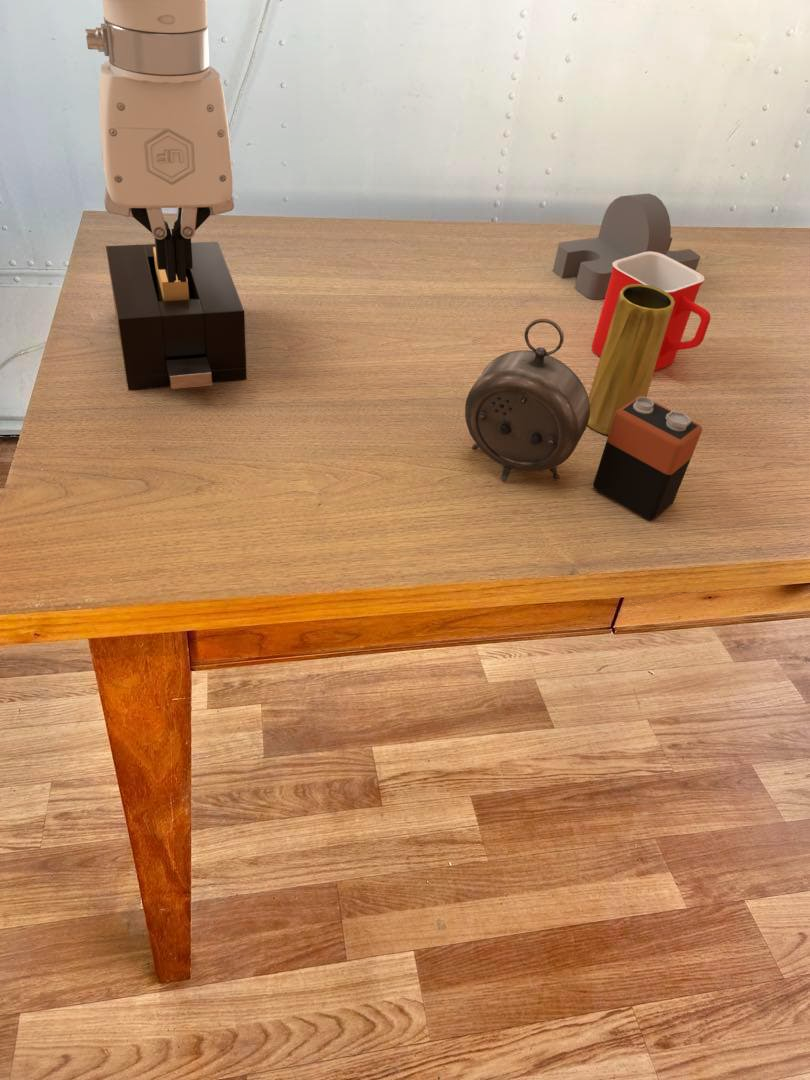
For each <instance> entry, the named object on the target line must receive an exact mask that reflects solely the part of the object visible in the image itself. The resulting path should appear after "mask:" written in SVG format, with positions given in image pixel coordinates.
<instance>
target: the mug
mask: <svg viewBox="0 0 810 1080" xmlns="http://www.w3.org/2000/svg"><path fill="white" fill-rule="evenodd" d="M705 280H706V278H705V276H704V275H703V274H702V273H700V272H698V271H697V270H696V271H695V270H693V269H691V268H689V267H687V266H685V265H683V264H681V263H679V262H677V261H675V260H673V259H671V258H670V257H668V256H666V255H663V254H661V253H658V252H651V251H649V252H643V253H639V254H636V255H633V256H629V257H626V258H623V259H619V260H616V261H614V262H613V263H612V274H611V278H610V282H609V285H608V289H607V293H606V296H605V298H604V300H603V304H602V307H601V310H600V315H599V319H598V322H597V325H596V329H595V333H594V336H593V340H592V343H591V351H592V352H593V353H594V354H595V355H597V356H598V357H599V358H600V357H601V354H602V351H603V348H604V345H605V342H606V339H607V335H608V331H609V327H610V324H611V321H612V317H613V314H614V311H615V307H616V304H617V301H618V297H619V294H620V292H621V290H622V289H623V288H624V287H625V286H628V285H632V284H644V285H650V286H653V287H656V288H659V289H662V290H663V291H665V292H667V293H668V294H670V295H671V296H672V297H673V299H674V302H675V303H674V307H673V310H672V314H671V317H670V320H669V323H668V326H667V329H666V332H665V335H664V338H663V342H662V345H661V348H660V351H659V355H658V358H657V362H656V365H655V369H654V372H657V371H658V370H661V369H663V368H666V367H669V366H671V365H672V364H673V363H674V361H675V358H676V355H677V352H678V351H683V350H690V349H693V348H696V347H699V346H700V345H701V344H702V343H703V341H704V339H705V337H706V336H705V335H706V333H707V331H708V328H709V325H710V322H711V314H710V312H709V311H708V310H707V308H704V307H702V306H700V305H699V304H697V303H696V298H697V296H698V293H699V290H700V288H701V286H702V285H703V283H704V282H705ZM691 313H694V314H696V315H698V317H699V318H700V321H699V324H698V327H697V330H696V332H695V335H694V336H693V338H692V339H691V340H686V341H682V339H683V336H684V332H685V330H686V327H687V325H688V322H689V319H690V316H691Z"/></svg>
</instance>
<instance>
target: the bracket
mask: <svg viewBox="0 0 810 1080" xmlns="http://www.w3.org/2000/svg"><path fill="white" fill-rule="evenodd" d="M670 218H671V217H670V215H669V212H668V210H667V207H666V205H665V204H664V202H663V200H661V199H660V198H659V197H658V196H656V195H654V194H652V193H636V194H629V195H621V196H619V197H617V198H615V199H614V200H613V201H611V202H610V204H609V205H608V206H607V208H606V210H605V212H604V214H603V218H602V221H601V224H600V228H599V231H598V236H597V237H596V236H595V237H589V238H582V239H574V240H567V241H566V240H565V241H560V242H558V245H557V249H556V255H555V258H554V264H553V266H552V267H553V268H552V271H553V273H555V274H556V275H557V276H558V277H560V278H561V279H564V278H571V277H576V281H575V285H574V289H575V290H576V291H578V292H579V293H580V294H581V295H582V296H584V297H585V298H587V299H590V300H602V299H605V296H606V293H607V289H608V285H609V282H610V278H611V274H612V263H613V262H614V261H616V260H619V259H623V258H626V257H629V256H633V255H636V254H639V253H643V252H649V251H651V252H658V253H661V254H663V255H666V256H668V257H670V258H671V259H673V260H675V261H677V262H679V263H681V264H683V265H685V266H687V267H689V268H691V269H693V270H695V271H697V268H698V265H699V262H700V259H701V256H700V254H698V253H697V252H695V251H694V250H692V249H690V248H685V249H680V250H670V247H671V245H672V241H673V237H672V236H671V235H672V234H671V233H672V232H671V230H672V226H671V219H670Z"/></svg>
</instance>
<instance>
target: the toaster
mask: <svg viewBox="0 0 810 1080" xmlns="http://www.w3.org/2000/svg"><path fill="white" fill-rule="evenodd" d="M153 247H155V243H148V244H124V245H106V246H105V251H106V258H107V265H108V271H109V278H110V284H111V286H110V287H111V293H112V298H113V305H114V313H115V319H116V324H117V331H118V337H119V342H120V349H121V355H122V360H123V361H122V362H123V366H124V372H125V373H124V374H125V379H126V385H127V390H128V391H135V390H147V389H157V388H168V387H170V388H171V385H170V381H169V377H168V371H167V362H166V361H167V360H177V359H189V358H202V357H207V359H208V363H209V366H210V369H211V373H212V384H214V383H224V382H235V381H247V349H246V348H247V345H246V322H245V321H246V318H245V317H246V315H245V308H244V306H243V304H242V301H241V298H240V295H239V293H238V291H237V287H236V286H235V282H234V280H233V277H232V275H231V272H230V269H229V267H228V264H227V262H226V257H225V256H224V253H223V251H222V247H221V246H220V242H219V241H218V240H217V241H197V242H196V241H195V242H191V247H192V263H193V268H192V269H186V277H187V280H188V290H189V300H175V301H159V299H158V290H157V280H156V271H155V261H154V252H153Z"/></svg>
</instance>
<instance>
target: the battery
mask: <svg viewBox="0 0 810 1080" xmlns="http://www.w3.org/2000/svg"><path fill="white" fill-rule="evenodd" d="M692 420H693V419H692V418H690V417H689V416H688V414H687V413H686V412H682V411H677V410H673V409H672V410H671V409H669V408H667V407H666V406H663V405H662V404H659V403H658V402H655V401H654V400H653V399H651V398H649V397H643V396H638V397H636V398H634V399H633V400H632V401H630V402H629V403H627V404H626V405H624V406H623V407H621V408H620V409H618V410H617V411H616V413H615V416H614V419H613V422H612V425H611V429H610V432H609V435H607V439H606V441H605V445H604V447H603V451H602V453H601V458H600V461H599V464H598V467H597V470H596V473H595V477H594V480H593V484H592V486H593V489H594V490H596V491H597V492H599V493H601V494H602V495H604V496H606V497H607V498H610V499H611V500H613V501H614V502H616V503H617V504H620V505H621V506H623V507H625V508H627V509H628V510H629V511H632V512H634V513H635V514H637V515H639V516H641V517H642V518H644V519H645V520H647V521H654V520H655V519H656V518H658V517H659V516H660V515H661V514H662V513H663V512H664V511H666V510H667V509H668V508H669V507H670V506H671V505H672V504H674V502H675V499H676V498H677V495H678V492H679V490H680V487H681V485H682V482H683V481H684V480H683V479H684V476H685V474H686V472H687V469H688V467H689V464H690V462H691V460H692V457H693V454H694V452H695V449H696V447H697V445H698V443H699V440H700V437H701V435H702V432H703V427H702V425H700V424H699V423H696V422H695V421H692Z"/></svg>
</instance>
